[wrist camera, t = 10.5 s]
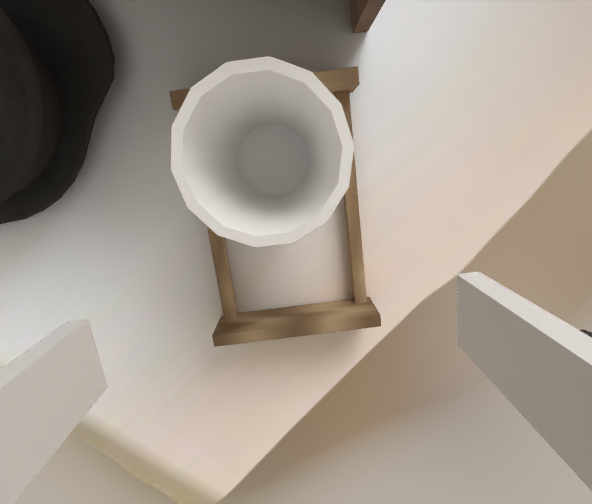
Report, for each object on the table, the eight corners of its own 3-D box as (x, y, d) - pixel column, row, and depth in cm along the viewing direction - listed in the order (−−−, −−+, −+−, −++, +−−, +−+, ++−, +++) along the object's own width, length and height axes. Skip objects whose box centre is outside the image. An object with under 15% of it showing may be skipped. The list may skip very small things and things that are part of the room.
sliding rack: (223, 325, 34) (214, 346, 30) (181, 98, 29) (163, 88, 25) (370, 306, 34) (381, 326, 30) (351, 76, 29) (360, 61, 25)
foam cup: (350, 161, 31) (391, 157, 19) (276, 236, 33) (267, 281, 20) (270, 77, 30) (255, 11, 17) (196, 161, 31) (131, 157, 18)
